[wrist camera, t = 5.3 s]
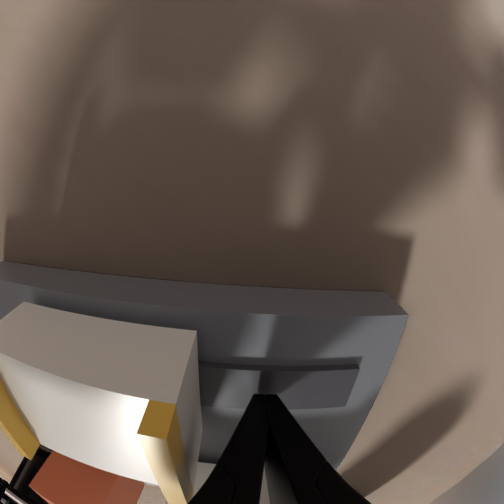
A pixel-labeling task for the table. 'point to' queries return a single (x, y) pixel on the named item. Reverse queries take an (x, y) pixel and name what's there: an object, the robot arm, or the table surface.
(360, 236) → the table surface
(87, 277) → the panel
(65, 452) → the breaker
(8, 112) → the table surface
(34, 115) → the table surface
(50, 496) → the cap
